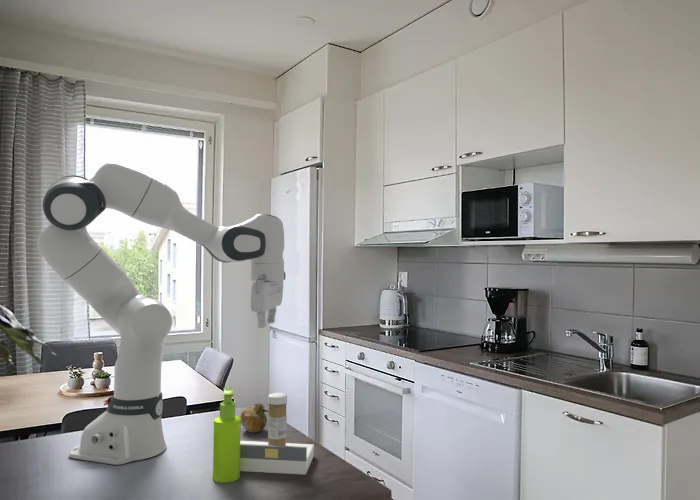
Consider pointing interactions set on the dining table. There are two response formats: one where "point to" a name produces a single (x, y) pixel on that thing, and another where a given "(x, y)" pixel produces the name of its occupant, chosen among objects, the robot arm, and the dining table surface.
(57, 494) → the dining table surface
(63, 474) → the dining table surface
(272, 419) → the sprinkles bottle
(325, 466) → the dining table surface
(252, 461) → the white slab
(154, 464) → the dining table surface
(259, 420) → the onion
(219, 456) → the soap dispenser
